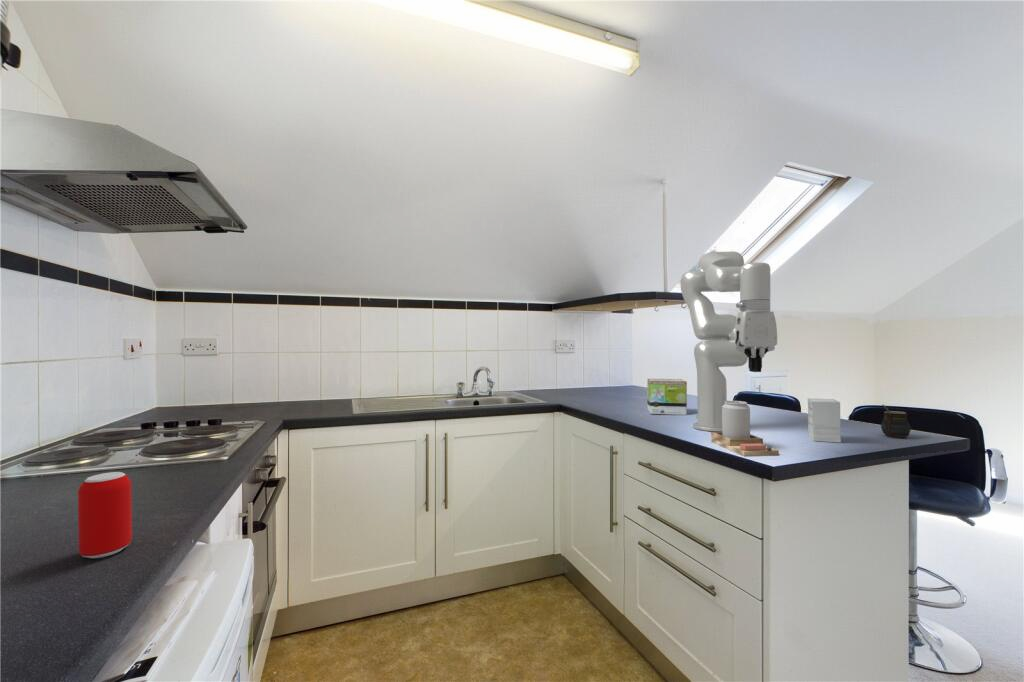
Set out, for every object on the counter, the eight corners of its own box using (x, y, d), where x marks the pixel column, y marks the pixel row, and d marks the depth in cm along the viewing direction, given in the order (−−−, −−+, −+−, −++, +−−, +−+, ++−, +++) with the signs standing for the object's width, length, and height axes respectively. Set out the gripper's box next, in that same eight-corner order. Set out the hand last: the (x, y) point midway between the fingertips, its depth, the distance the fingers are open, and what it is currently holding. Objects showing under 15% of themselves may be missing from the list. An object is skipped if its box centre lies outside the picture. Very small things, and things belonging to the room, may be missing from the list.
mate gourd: (902, 440, 136) (901, 408, 136) (874, 435, 143) (873, 405, 143) (916, 437, 139) (915, 406, 139) (888, 433, 146) (887, 403, 146)
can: (745, 438, 135) (745, 400, 135) (754, 444, 128) (753, 403, 128) (719, 438, 137) (719, 399, 137) (726, 443, 129) (725, 403, 129)
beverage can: (70, 565, 65) (69, 484, 65) (89, 547, 71) (88, 473, 71) (123, 556, 68) (122, 478, 68) (137, 539, 73) (136, 468, 73)
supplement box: (835, 438, 140) (834, 398, 140) (841, 443, 133) (840, 401, 133) (807, 436, 143) (807, 397, 143) (812, 441, 136) (811, 400, 136)
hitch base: (711, 441, 137) (711, 432, 137) (741, 440, 138) (741, 431, 138) (743, 456, 120) (743, 445, 120) (778, 455, 121) (778, 444, 121)
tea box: (650, 414, 187) (650, 380, 187) (647, 411, 197) (646, 378, 197) (687, 415, 185) (686, 380, 185) (682, 411, 195) (681, 378, 195)
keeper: (740, 448, 123) (740, 443, 123) (760, 447, 124) (760, 443, 124) (745, 450, 121) (745, 445, 121) (765, 449, 121) (765, 445, 121)
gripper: (736, 306, 120) (737, 373, 120) (789, 306, 121) (789, 372, 121) (722, 308, 127) (722, 370, 128) (772, 307, 128) (772, 370, 129)
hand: (755, 371), depth 125 cm, fingers closed
